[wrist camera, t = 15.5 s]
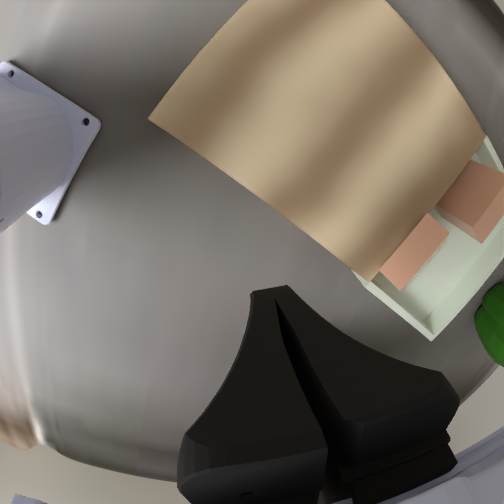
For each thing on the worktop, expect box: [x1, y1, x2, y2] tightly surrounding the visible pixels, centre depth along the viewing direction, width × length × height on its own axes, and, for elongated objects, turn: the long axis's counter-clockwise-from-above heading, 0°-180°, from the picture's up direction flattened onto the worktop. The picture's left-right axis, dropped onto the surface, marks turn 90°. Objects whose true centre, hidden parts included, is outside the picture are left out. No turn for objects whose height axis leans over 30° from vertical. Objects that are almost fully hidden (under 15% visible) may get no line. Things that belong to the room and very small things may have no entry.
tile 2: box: [435, 160, 504, 244], centre depth 19 cm, size 5×5×2 cm
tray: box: [352, 135, 504, 341], centre depth 23 cm, size 12×15×2 cm
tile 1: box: [379, 213, 449, 291], centre depth 21 cm, size 5×5×2 cm
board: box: [148, 0, 486, 283], centre depth 17 cm, size 17×14×3 cm
